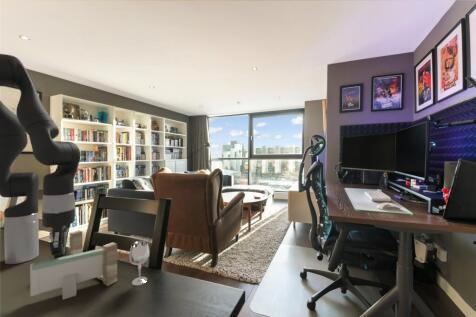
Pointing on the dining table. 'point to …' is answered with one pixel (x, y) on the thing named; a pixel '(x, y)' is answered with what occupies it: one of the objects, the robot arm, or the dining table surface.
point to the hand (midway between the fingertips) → (59, 264)
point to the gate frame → (108, 257)
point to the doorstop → (69, 286)
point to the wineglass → (139, 258)
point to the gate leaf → (65, 270)
